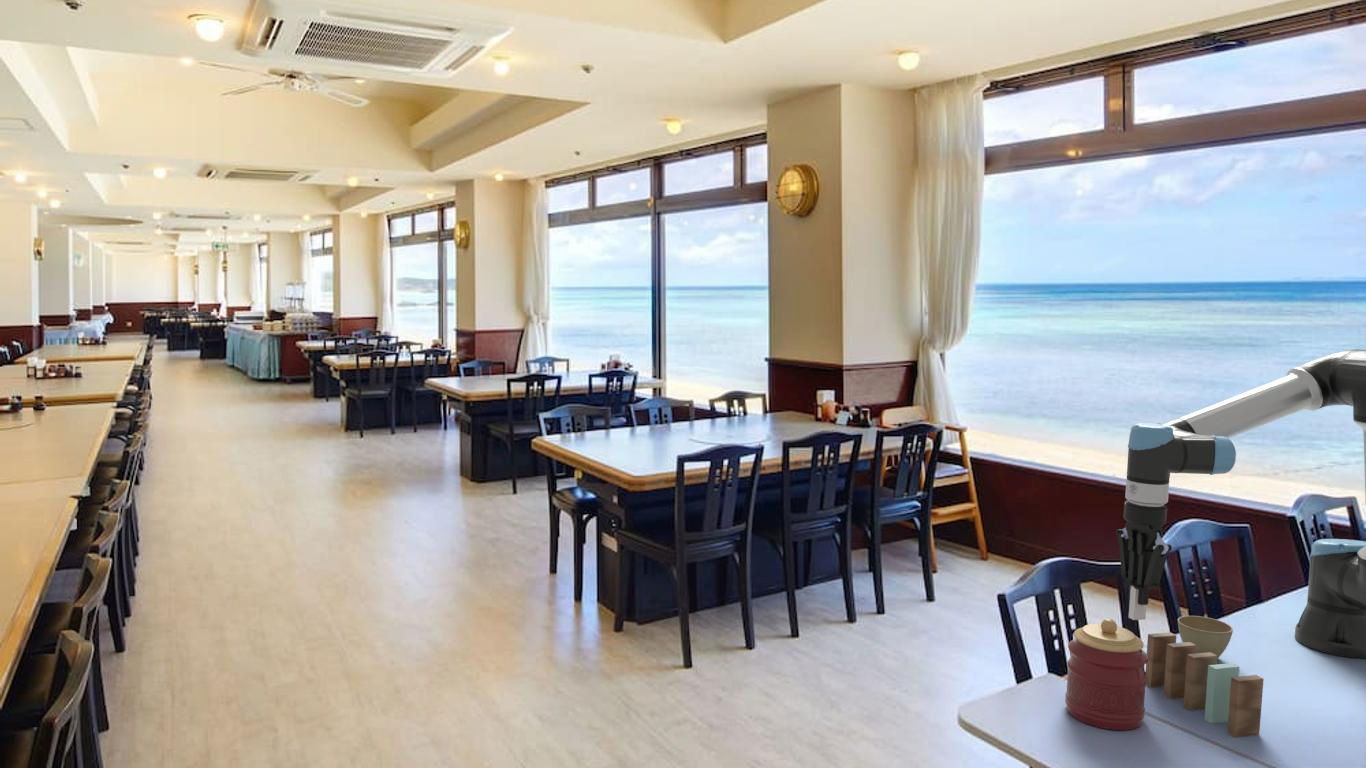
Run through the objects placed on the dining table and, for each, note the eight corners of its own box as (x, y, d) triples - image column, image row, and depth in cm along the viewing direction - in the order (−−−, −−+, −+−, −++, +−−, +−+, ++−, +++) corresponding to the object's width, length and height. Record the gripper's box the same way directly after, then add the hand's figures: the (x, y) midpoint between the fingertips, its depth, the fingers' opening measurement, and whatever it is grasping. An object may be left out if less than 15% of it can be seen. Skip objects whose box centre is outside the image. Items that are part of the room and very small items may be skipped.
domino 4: (1228, 716, 162) (1232, 663, 161) (1235, 720, 160) (1239, 666, 159) (1204, 719, 161) (1208, 665, 160) (1211, 723, 159) (1215, 668, 158)
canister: (1142, 739, 154) (1148, 638, 152) (1060, 720, 160) (1065, 624, 158) (1145, 708, 165) (1151, 614, 163) (1069, 692, 171) (1074, 602, 169)
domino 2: (1186, 692, 172) (1189, 641, 171) (1192, 696, 170) (1196, 645, 169) (1163, 695, 171) (1166, 643, 170) (1169, 698, 169) (1173, 647, 168)
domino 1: (1166, 681, 177) (1170, 632, 176) (1173, 685, 175) (1176, 635, 174) (1144, 683, 175) (1148, 634, 174) (1150, 687, 174) (1153, 637, 173)
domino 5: (1251, 730, 157) (1255, 674, 156) (1259, 734, 156) (1263, 678, 155) (1227, 732, 156) (1231, 677, 155) (1234, 737, 154) (1238, 681, 153)
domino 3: (1206, 704, 167) (1210, 652, 166) (1213, 708, 165) (1217, 655, 164) (1183, 707, 166) (1187, 654, 165) (1190, 710, 164) (1193, 657, 163)
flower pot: (1238, 668, 183) (1241, 634, 182) (1184, 664, 185) (1187, 630, 184) (1219, 649, 193) (1222, 617, 192) (1169, 645, 195) (1171, 613, 194)
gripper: (1106, 495, 184) (1098, 608, 186) (1153, 510, 171) (1143, 631, 173) (1139, 494, 185) (1130, 606, 188) (1187, 509, 173) (1177, 629, 175)
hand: (1136, 618), depth 180 cm, fingers closed
